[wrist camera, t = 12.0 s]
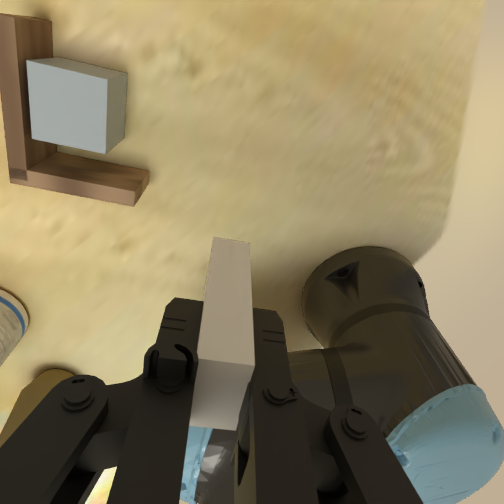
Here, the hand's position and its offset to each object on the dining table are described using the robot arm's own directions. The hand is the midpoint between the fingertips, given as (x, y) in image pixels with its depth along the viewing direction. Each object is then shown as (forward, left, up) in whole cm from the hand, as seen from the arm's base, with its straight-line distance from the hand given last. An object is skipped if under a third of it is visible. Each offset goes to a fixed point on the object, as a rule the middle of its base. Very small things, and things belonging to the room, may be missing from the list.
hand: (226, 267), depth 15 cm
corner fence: (+13, +1, -25) cm, 28 cm away
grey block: (+14, 0, -25) cm, 28 cm away
